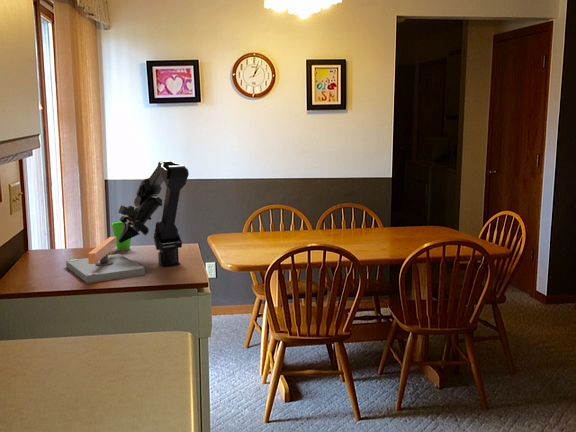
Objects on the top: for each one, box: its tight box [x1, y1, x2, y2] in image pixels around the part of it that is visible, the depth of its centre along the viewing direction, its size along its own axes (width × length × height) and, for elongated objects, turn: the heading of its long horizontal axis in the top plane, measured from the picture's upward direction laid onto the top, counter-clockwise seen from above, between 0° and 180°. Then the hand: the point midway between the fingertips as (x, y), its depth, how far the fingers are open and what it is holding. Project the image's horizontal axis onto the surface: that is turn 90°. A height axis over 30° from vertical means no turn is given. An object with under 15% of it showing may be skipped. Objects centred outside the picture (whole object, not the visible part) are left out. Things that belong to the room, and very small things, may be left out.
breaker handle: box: [87, 236, 117, 264], centre depth 220 cm, size 3×30×7 cm, turn 3°
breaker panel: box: [65, 253, 146, 284], centre depth 221 cm, size 20×28×3 cm
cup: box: [110, 221, 132, 251], centre depth 258 cm, size 9×9×11 cm
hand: (119, 242), depth 234 cm, fingers closed
